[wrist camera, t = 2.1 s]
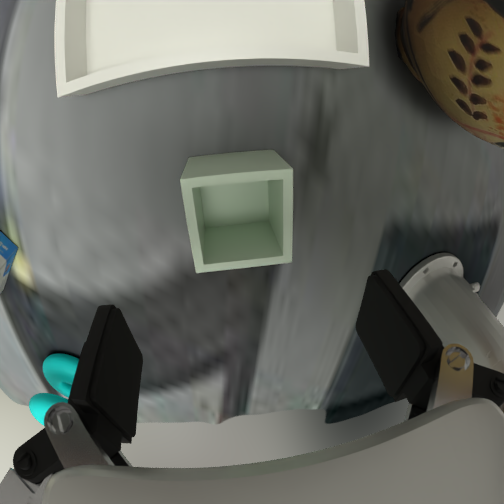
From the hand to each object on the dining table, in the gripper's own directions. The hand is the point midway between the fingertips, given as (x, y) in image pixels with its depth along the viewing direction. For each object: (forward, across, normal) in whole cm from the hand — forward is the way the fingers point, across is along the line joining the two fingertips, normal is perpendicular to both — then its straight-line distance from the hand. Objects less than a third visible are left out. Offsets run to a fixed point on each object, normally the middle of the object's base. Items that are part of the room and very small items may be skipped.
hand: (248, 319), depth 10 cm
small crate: (+14, -1, 0) cm, 14 cm away
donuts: (+15, +25, +24) cm, 38 cm away
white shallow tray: (+15, 0, -18) cm, 23 cm away
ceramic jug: (+14, -21, -14) cm, 29 cm away
